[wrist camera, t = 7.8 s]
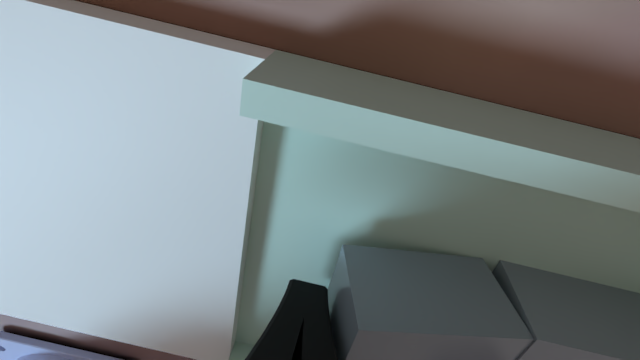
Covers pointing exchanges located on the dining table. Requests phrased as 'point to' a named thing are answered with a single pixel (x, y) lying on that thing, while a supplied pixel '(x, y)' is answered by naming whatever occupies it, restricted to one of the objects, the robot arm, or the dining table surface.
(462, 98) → the tray
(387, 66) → the dining table surface
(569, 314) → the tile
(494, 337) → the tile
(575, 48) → the dining table surface
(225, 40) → the board
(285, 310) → the robot arm
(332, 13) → the dining table surface
